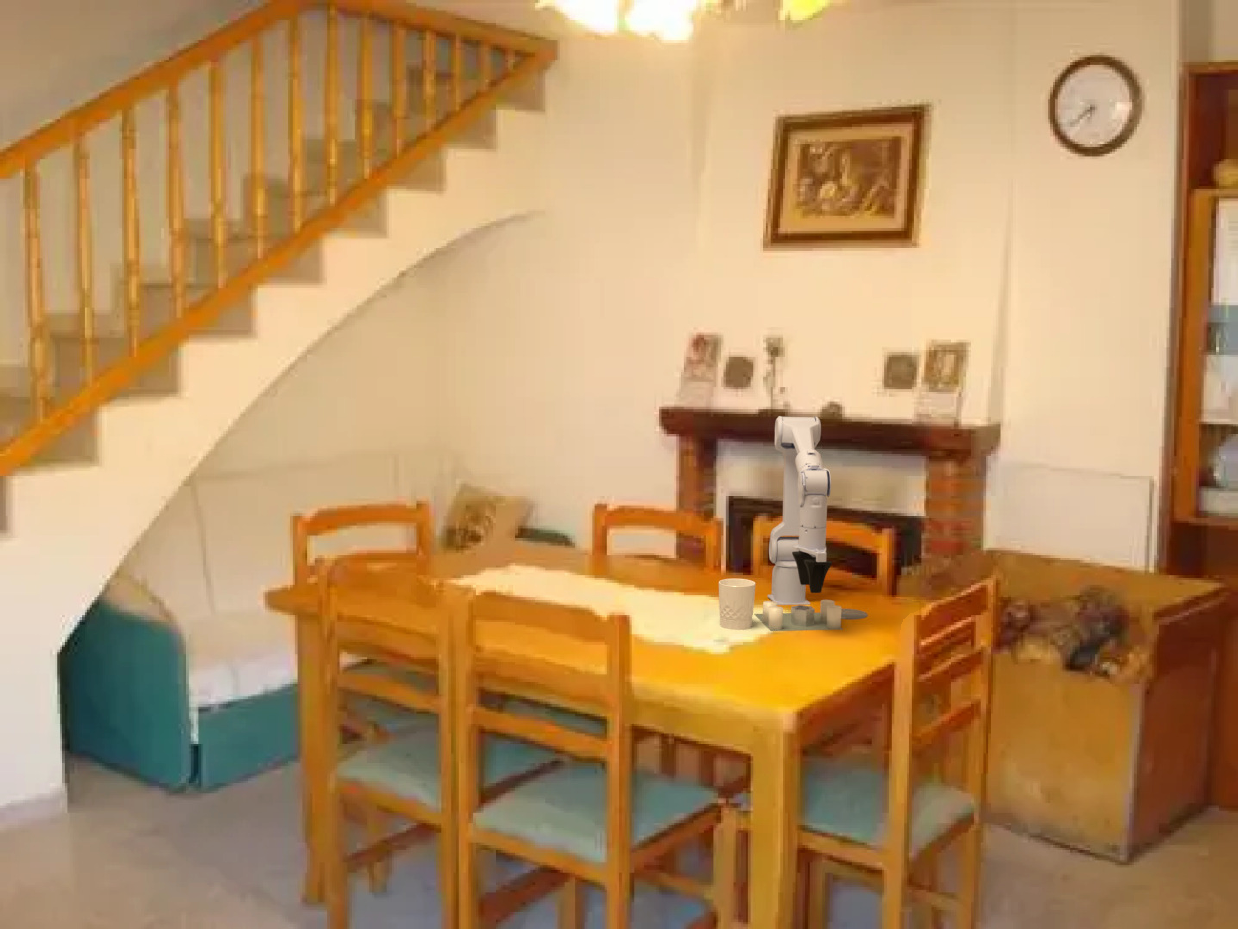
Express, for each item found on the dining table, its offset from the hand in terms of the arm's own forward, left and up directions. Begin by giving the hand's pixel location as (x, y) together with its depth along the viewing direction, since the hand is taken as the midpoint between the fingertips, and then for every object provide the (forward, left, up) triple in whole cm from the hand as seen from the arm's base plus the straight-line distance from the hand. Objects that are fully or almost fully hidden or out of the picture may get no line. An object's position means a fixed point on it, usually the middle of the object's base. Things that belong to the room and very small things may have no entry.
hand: (810, 588), depth 302 cm
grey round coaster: (-12, +12, -9) cm, 20 cm away
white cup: (-4, -15, -10) cm, 18 cm away
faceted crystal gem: (-5, 0, -9) cm, 10 cm away
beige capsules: (-4, -1, -9) cm, 10 cm away
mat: (-7, -1, -9) cm, 12 cm away
